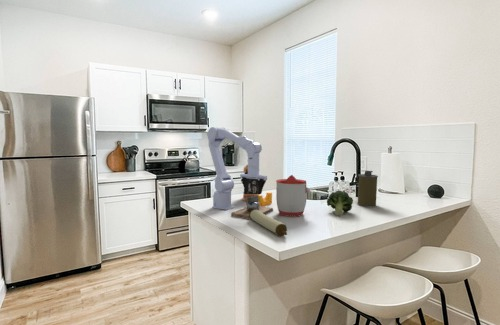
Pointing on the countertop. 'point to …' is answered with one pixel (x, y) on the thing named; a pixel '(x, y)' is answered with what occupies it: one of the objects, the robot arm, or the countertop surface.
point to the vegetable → (340, 202)
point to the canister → (367, 189)
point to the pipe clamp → (265, 199)
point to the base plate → (245, 214)
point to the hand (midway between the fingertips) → (253, 193)
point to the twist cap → (253, 202)
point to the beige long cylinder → (268, 222)
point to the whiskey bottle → (250, 186)
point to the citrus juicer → (291, 196)
